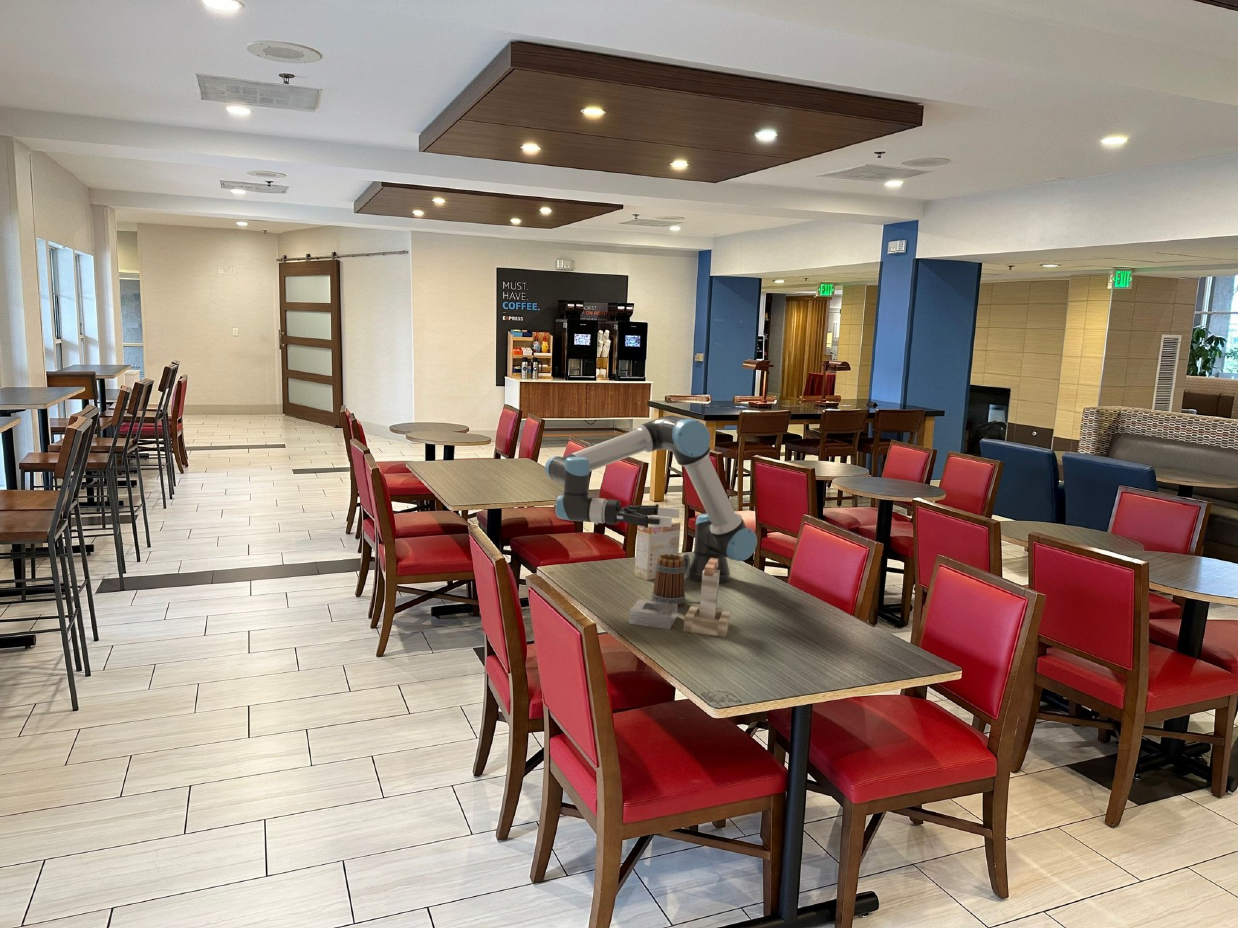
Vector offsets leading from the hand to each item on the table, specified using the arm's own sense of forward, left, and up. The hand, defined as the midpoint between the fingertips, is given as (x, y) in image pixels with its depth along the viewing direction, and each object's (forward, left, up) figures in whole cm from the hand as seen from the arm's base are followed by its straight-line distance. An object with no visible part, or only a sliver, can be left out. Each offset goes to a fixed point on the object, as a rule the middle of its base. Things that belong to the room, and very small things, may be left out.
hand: (675, 517), depth 248 cm
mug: (-15, -1, -30) cm, 34 cm away
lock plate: (+6, -3, -30) cm, 31 cm away
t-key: (+6, +13, -30) cm, 33 cm away
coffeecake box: (-43, -12, -30) cm, 54 cm away
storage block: (+6, +13, -30) cm, 33 cm away
